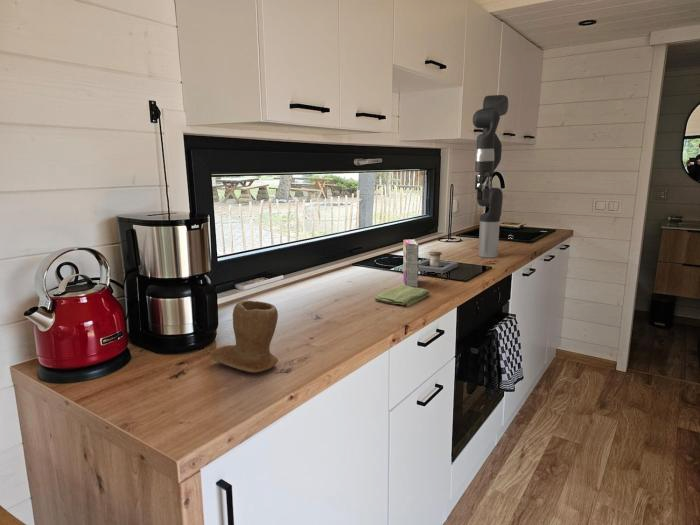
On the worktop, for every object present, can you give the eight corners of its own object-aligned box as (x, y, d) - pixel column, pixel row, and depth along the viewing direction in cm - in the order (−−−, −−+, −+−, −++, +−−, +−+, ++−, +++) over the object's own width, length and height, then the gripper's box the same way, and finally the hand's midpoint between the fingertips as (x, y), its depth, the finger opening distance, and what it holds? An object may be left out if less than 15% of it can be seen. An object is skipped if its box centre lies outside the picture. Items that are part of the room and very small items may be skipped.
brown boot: (290, 362, 113) (288, 301, 110) (253, 381, 104) (249, 314, 100) (246, 349, 122) (243, 291, 119) (208, 365, 112) (203, 303, 109)
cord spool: (431, 266, 214) (432, 251, 212) (443, 267, 211) (443, 252, 209) (426, 268, 209) (426, 253, 208) (438, 270, 206) (438, 254, 205)
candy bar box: (402, 280, 190) (402, 239, 186) (415, 280, 190) (415, 239, 186) (405, 287, 179) (405, 244, 176) (418, 287, 179) (419, 243, 175)
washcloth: (372, 302, 162) (372, 293, 161) (400, 291, 175) (400, 282, 175) (406, 309, 154) (406, 299, 153) (432, 297, 167) (432, 288, 167)
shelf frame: (426, 263, 220) (426, 259, 220) (458, 266, 212) (458, 262, 212) (410, 270, 207) (410, 265, 206) (442, 274, 198) (442, 269, 198)
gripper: (481, 160, 207) (480, 197, 211) (469, 160, 196) (468, 200, 199) (499, 159, 203) (497, 198, 207) (487, 160, 192) (486, 200, 195)
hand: (483, 199), depth 203 cm, fingers open, 8 cm apart
